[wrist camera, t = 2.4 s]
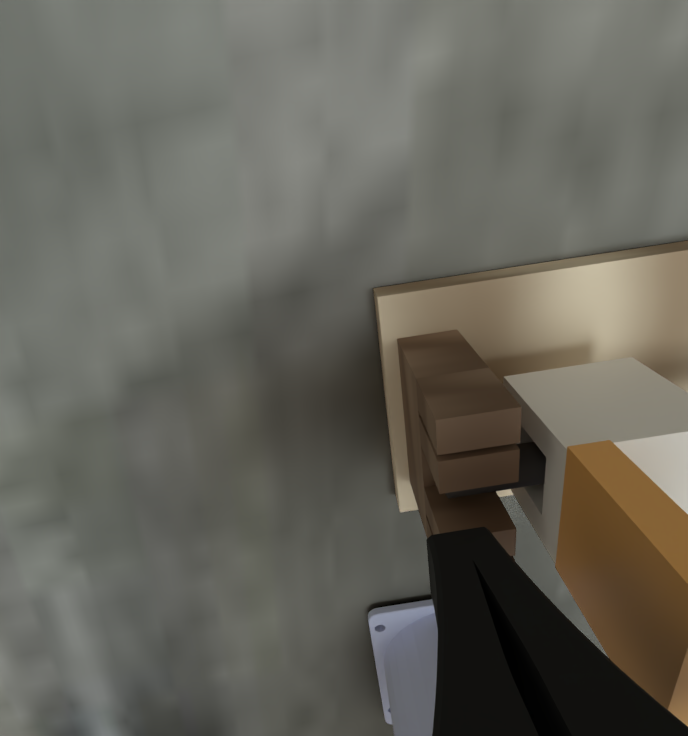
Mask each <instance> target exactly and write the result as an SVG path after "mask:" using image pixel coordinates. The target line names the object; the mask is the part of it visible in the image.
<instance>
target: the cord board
mask: <svg viewBox="0 0 688 736" xmlns="http://www.w3.org/2000/svg"><path fill="white" fill-rule="evenodd" d="M373 291H374V300H375V309H376V319H377V328H378V337H379V346H380V355H381V365H382V374H383V383H384V392H385V402H386V411H387V420H388V429H389V438H390V448H391V457H392V466H393V475H394V484H395V494H396V499H397V502H398V506H399V510H400V512H406V511H413V510H419V513H420V516H421V519H422V523H423V526H424V529H425V532H426V536H427V539H428V538H429V537H430V536H431V535H434V534H440V533H447V532H453V531H459V530H466V529H472V528H478V527H486V528H487V529H489V530H490V532H491V533H492V534H493V536H494V537H495V538H496V539H497V541H498V542H499V543H500V544H501V546H502V547H503V548H504V549H505V550H506V552H507V553H508V554H509V555H510V556H511V558H512V559H513V560H514V558H513V556H514V555H515V547H516V527H515V525H514V524H513V522H512V520H511V518H510V516H509V514H508V513H507V511H506V509H505V507H504V505H503V504H502V502H501V500H500V498H499V497H503V496H509V495H514V494H513V493H512V491H511V489H514V488H520V487H527V486H533V485H540V484H544V481H545V468H546V456H545V455H544V454H543V453H542V451H541V450H540V449H539V447H538V446H537V445H536V444H535V442H529V443H522V444H516V443H520V436H521V413H522V407H521V405H520V404H519V403H518V402H517V401H516V399H515V398H514V397H513V396H512V395H511V393H510V392H509V391H508V390H507V389H506V387H505V386H504V385H503V379H504V376H510V375H517V374H523V373H530V372H536V371H543V370H549V369H556V368H562V367H569V366H575V365H582V364H588V363H595V362H601V361H608V360H615V359H621V358H628V357H633V358H634V359H636V360H637V361H639V362H640V363H642V364H644V365H645V366H647V367H648V368H650V369H651V370H653V371H655V372H656V373H658V374H659V375H661V376H662V377H664V378H666V379H667V380H669V381H670V382H672V383H673V384H675V385H676V386H678V387H680V388H681V389H683V390H684V391H686V392H687V393H688V241H682V242H675V243H669V244H662V245H655V246H649V247H642V248H636V249H629V250H623V251H616V252H609V253H603V254H596V255H590V256H583V257H576V258H570V259H563V260H557V261H550V262H543V263H537V264H530V265H524V266H517V267H511V268H504V269H497V270H491V271H484V272H478V273H471V274H464V275H458V276H451V277H445V278H438V279H431V280H425V281H418V282H412V283H405V284H399V285H392V286H385V287H379V288H373ZM514 561H515V560H514Z"/></svg>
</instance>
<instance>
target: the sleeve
mask: <svg viewBox="0 0 688 736" xmlns="http://www.w3.org/2000/svg"><path fill="white" fill-rule="evenodd" d="M503 385H504V386H505V387H506V389H507V390H508V391H509V392H510V393H511V395H512V396H513V397H514V398H515V399H516V401H517V402H518V403H519V404H520V405H521V407H522V413H521V436H520V443H516V444H522V443H529V442H535V444H536V445H537V446H538V447H539V449H540V450H541V451H542V453H543V454H544V455H545V456H546V468H545V481H544V484H540V485H533V486H527V487H520V488H514V489H511V491H512V493H513V494H514V496H515V498H516V499H517V501H518V503H519V504H520V506H521V508H522V509H523V511H524V513H525V514H526V516H527V518H528V519H529V521H530V523H531V524H532V526H533V528H534V529H535V531H536V533H537V535H538V536H539V538H540V540H541V541H542V543H543V545H544V546H545V548H546V550H547V551H548V553H549V555H550V556H551V558H552V560H553V561H554V563H555V568H556V569H557V571H558V573H559V574H560V576H561V578H562V579H563V581H564V583H565V585H566V586H567V588H568V590H569V591H570V593H571V595H572V596H573V598H574V600H575V601H576V603H577V605H578V606H579V608H580V610H581V612H582V613H583V615H584V617H585V618H586V620H587V622H588V623H589V625H590V627H591V628H592V630H593V632H594V633H595V635H596V637H597V638H598V640H599V642H600V644H601V645H602V647H603V649H604V650H605V652H606V654H607V655H608V657H609V659H610V660H611V661H612V662H613V663H614V664H615V665H616V666H617V667H619V668H620V669H621V670H622V671H623V672H624V673H625V674H626V675H627V676H629V677H630V678H631V679H632V680H633V681H634V682H635V683H637V684H638V685H639V686H640V687H641V688H642V689H644V690H645V691H646V692H647V693H648V694H649V695H650V696H652V697H653V698H654V699H655V700H656V701H657V702H659V703H660V704H661V705H662V706H663V707H665V708H666V709H667V710H668V711H670V712H671V713H672V714H673V715H674V716H676V717H677V718H678V719H679V720H680V721H682V722H683V723H684V724H685V725H686V726H688V393H687V392H686V391H684V390H683V389H681V388H680V387H678V386H676V385H675V384H673V383H672V382H670V381H669V380H667V379H666V378H664V377H662V376H661V375H659V374H658V373H656V372H655V371H653V370H651V369H650V368H648V367H647V366H645V365H644V364H642V363H640V362H639V361H637V360H636V359H634V358H633V357H628V358H621V359H615V360H608V361H601V362H595V363H588V364H582V365H575V366H569V367H562V368H556V369H549V370H543V371H536V372H530V373H523V374H517V375H510V376H504V379H503Z"/></svg>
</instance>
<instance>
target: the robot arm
mask: <svg viewBox="0 0 688 736" xmlns="http://www.w3.org/2000/svg"><path fill="white" fill-rule="evenodd" d="M427 550H428V563H429V576H430V588H431V596H432V599H430V600H424V601H417V602H411V603H405V604H398V605H392V606H385V607H379V608H375V609H372V610H371V611H370V612H369V613H368V623H369V629H370V634H371V640H372V646H373V652H374V658H375V664H376V670H377V676H378V681H379V687H380V693H381V699H382V705H383V711H384V717H385V721H386V722H387V723H388V724H391V725H393V732H394V736H688V726H686V725H685V724H684V723H683V722H682V721H680V720H679V719H678V718H677V717H676V716H674V715H673V714H672V713H671V712H670V711H668V710H667V709H666V708H665V707H663V706H662V705H661V704H660V703H659V702H657V701H656V700H655V699H654V698H653V697H652V696H650V695H649V694H648V693H647V692H646V691H645V690H644V689H642V688H641V687H640V686H639V685H638V684H637V683H635V682H634V681H633V680H632V679H631V678H630V677H629V676H627V675H626V674H625V673H624V672H623V671H622V670H621V669H620V668H619V667H617V666H616V665H615V664H614V663H613V662H612V661H611V660H610V659H609V658H608V657H607V656H606V655H605V654H603V653H602V652H601V651H600V650H599V649H598V648H597V647H596V646H595V645H594V644H593V643H592V642H591V641H590V640H589V639H588V638H587V637H586V636H585V635H584V634H583V633H582V632H581V631H579V630H578V629H577V628H576V627H575V625H574V624H573V623H572V622H571V621H570V620H569V619H568V618H567V617H566V616H565V615H564V614H563V613H562V612H561V611H560V610H559V609H558V608H557V607H556V606H555V605H554V604H553V603H552V602H551V601H550V600H549V599H548V598H547V597H546V595H545V594H544V593H543V592H542V591H541V590H540V589H539V588H538V587H537V586H536V585H535V584H534V583H533V581H532V580H531V579H530V578H529V577H528V576H527V575H526V574H525V573H524V571H523V570H522V569H521V568H520V567H519V566H518V565H517V563H516V562H515V561H514V560H513V559H512V558H511V556H510V555H509V554H508V553H507V552H506V550H505V549H504V548H503V547H502V546H501V544H500V543H499V542H498V541H497V539H496V538H495V537H494V536H493V534H492V533H491V532H490V530H489V529H487V528H486V527H478V528H472V529H466V530H459V531H453V532H447V533H440V534H434V535H431V536H430V537H429V538H428V539H427Z"/></svg>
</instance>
